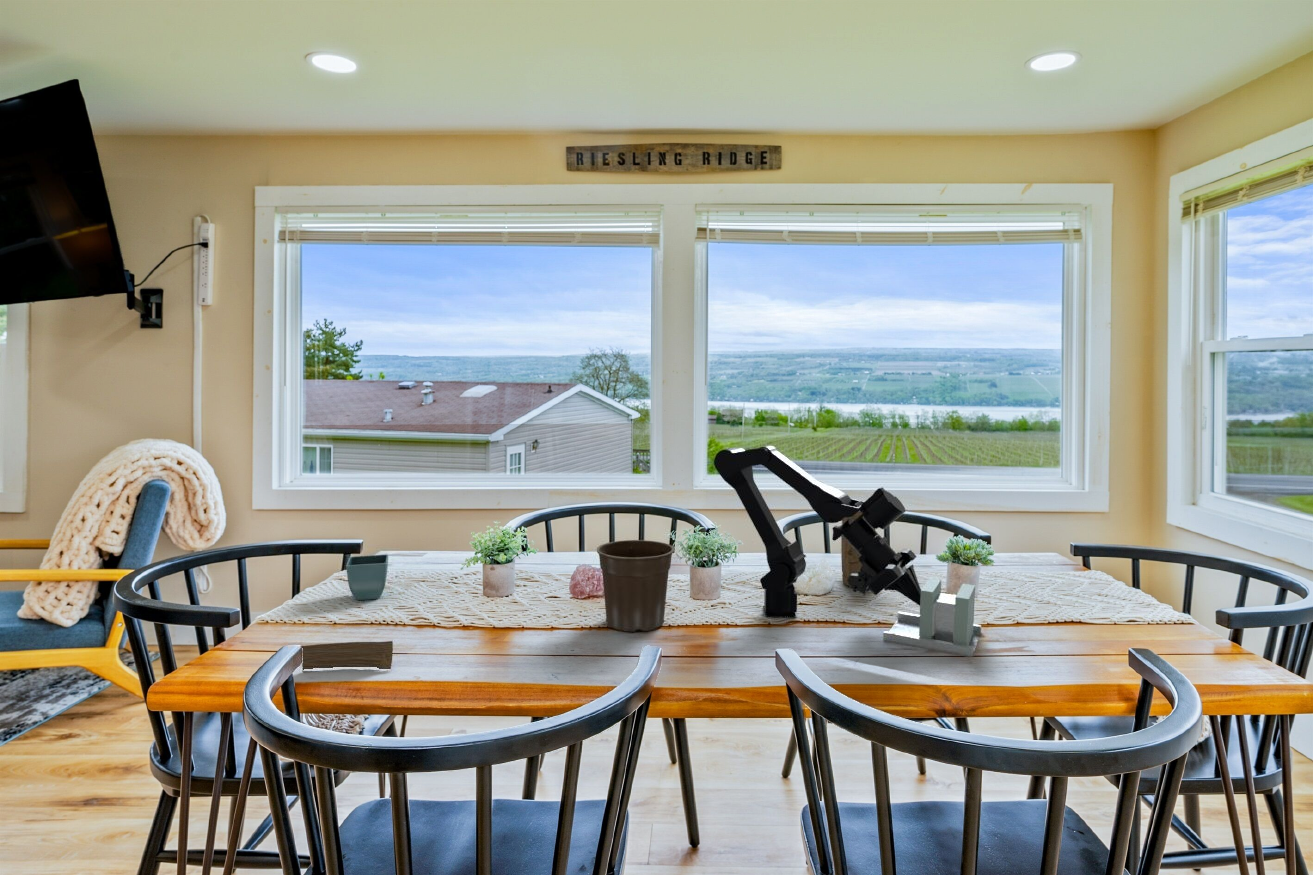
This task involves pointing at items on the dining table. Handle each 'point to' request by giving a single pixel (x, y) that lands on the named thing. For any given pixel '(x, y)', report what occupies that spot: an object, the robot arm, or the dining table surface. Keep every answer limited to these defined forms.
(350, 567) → the flower pot
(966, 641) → the fixed jaw
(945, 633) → the steel block
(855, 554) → the block
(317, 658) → the wood plank
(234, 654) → the dining table surface
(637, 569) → the plant pot
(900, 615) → the vise base
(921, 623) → the bar
